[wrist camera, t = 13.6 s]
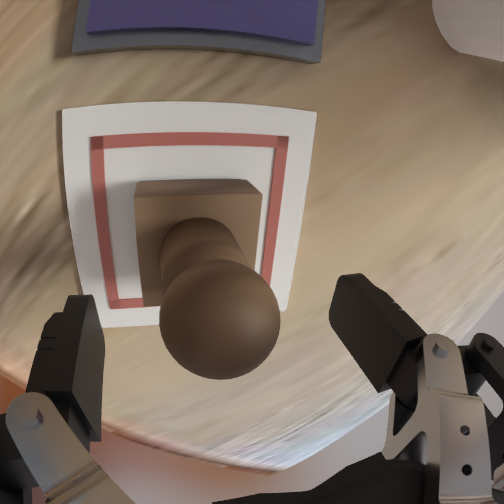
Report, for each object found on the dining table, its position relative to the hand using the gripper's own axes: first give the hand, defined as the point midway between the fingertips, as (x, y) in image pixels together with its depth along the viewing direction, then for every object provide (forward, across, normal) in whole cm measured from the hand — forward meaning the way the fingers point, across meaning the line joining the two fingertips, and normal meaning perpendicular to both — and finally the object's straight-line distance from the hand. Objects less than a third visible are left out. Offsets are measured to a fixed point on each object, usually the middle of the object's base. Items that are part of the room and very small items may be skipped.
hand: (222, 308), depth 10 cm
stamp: (+6, 0, 0) cm, 7 cm away
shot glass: (+7, -17, -16) cm, 24 cm away
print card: (+7, 0, 0) cm, 7 cm away
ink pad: (+7, 0, -13) cm, 15 cm away
